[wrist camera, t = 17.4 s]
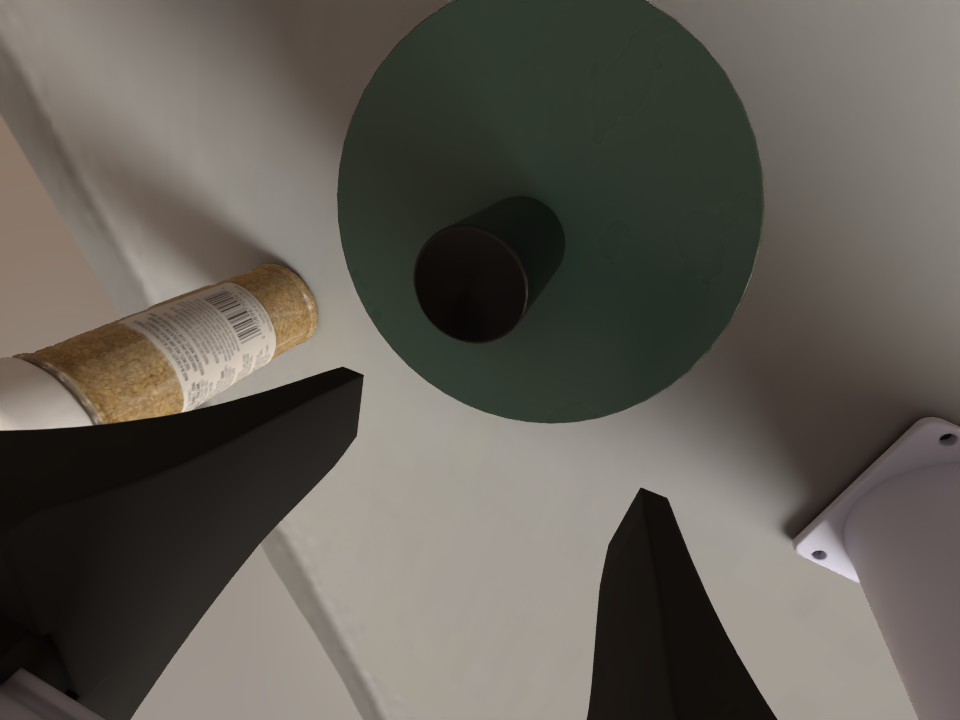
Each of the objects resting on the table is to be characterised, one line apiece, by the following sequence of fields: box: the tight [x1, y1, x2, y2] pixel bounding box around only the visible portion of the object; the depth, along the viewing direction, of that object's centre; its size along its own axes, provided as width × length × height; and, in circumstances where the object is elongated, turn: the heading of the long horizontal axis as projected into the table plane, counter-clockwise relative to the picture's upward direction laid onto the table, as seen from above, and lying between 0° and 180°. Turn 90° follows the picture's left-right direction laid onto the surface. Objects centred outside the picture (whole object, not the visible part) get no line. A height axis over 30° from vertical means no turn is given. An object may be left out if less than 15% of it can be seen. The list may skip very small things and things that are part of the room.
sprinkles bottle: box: [0, 264, 318, 431], centre depth 20 cm, size 5×5×14 cm
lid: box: [337, 0, 764, 423], centre depth 11 cm, size 11×11×5 cm
